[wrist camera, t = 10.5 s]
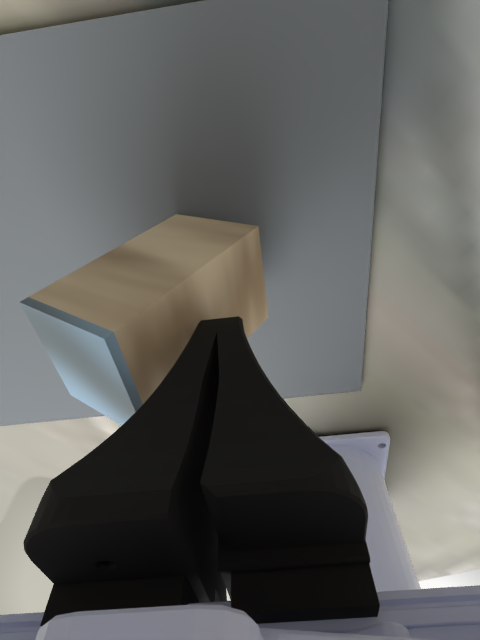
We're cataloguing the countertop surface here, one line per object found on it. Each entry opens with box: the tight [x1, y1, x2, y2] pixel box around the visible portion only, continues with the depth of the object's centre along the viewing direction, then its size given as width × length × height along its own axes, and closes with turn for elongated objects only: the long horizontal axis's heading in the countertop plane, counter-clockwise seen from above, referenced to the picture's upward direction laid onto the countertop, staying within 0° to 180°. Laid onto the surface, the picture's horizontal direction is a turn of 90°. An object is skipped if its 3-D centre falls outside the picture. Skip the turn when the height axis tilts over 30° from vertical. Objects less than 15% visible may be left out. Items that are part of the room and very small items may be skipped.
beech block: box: [19, 214, 268, 425], centre depth 14 cm, size 4×4×7 cm
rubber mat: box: [0, 0, 389, 426], centre depth 18 cm, size 18×22×1 cm
